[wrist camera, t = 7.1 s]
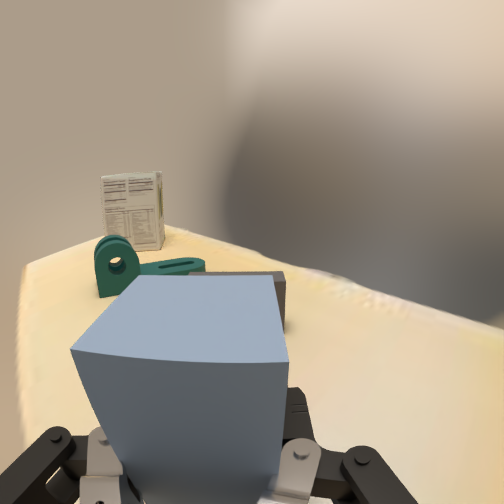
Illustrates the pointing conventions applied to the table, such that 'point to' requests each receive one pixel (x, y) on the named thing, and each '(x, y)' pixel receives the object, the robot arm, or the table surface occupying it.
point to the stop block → (277, 275)
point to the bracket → (132, 266)
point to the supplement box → (134, 208)
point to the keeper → (190, 385)
